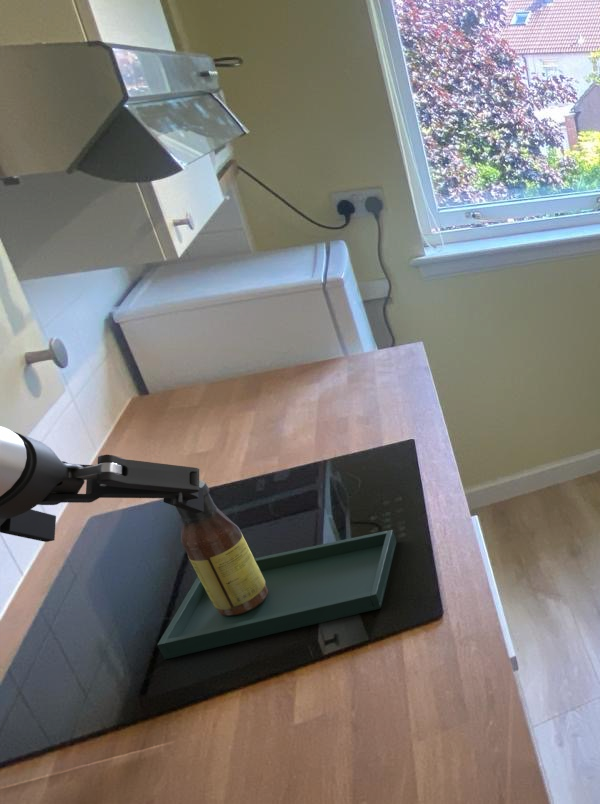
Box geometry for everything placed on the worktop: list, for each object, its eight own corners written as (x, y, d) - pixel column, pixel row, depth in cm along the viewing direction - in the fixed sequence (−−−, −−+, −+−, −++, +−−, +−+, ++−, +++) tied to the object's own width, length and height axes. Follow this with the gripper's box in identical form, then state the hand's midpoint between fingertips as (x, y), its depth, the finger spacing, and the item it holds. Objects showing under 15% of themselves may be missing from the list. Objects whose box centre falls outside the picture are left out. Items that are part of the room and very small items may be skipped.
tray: (164, 659, 96) (156, 645, 95) (208, 582, 109) (201, 569, 108) (380, 608, 103) (376, 594, 102) (396, 542, 117) (392, 529, 116)
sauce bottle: (275, 583, 108) (228, 469, 100) (262, 612, 103) (211, 494, 94) (224, 594, 106) (171, 479, 98) (207, 624, 101) (150, 505, 93)
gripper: (-232, 548, 57) (-20, 576, 76) (151, 480, 65) (258, 521, 84) (-214, 457, 60) (-13, 506, 79) (153, 402, 67) (256, 459, 86)
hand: (127, 514), depth 81 cm, fingers open, 13 cm apart
